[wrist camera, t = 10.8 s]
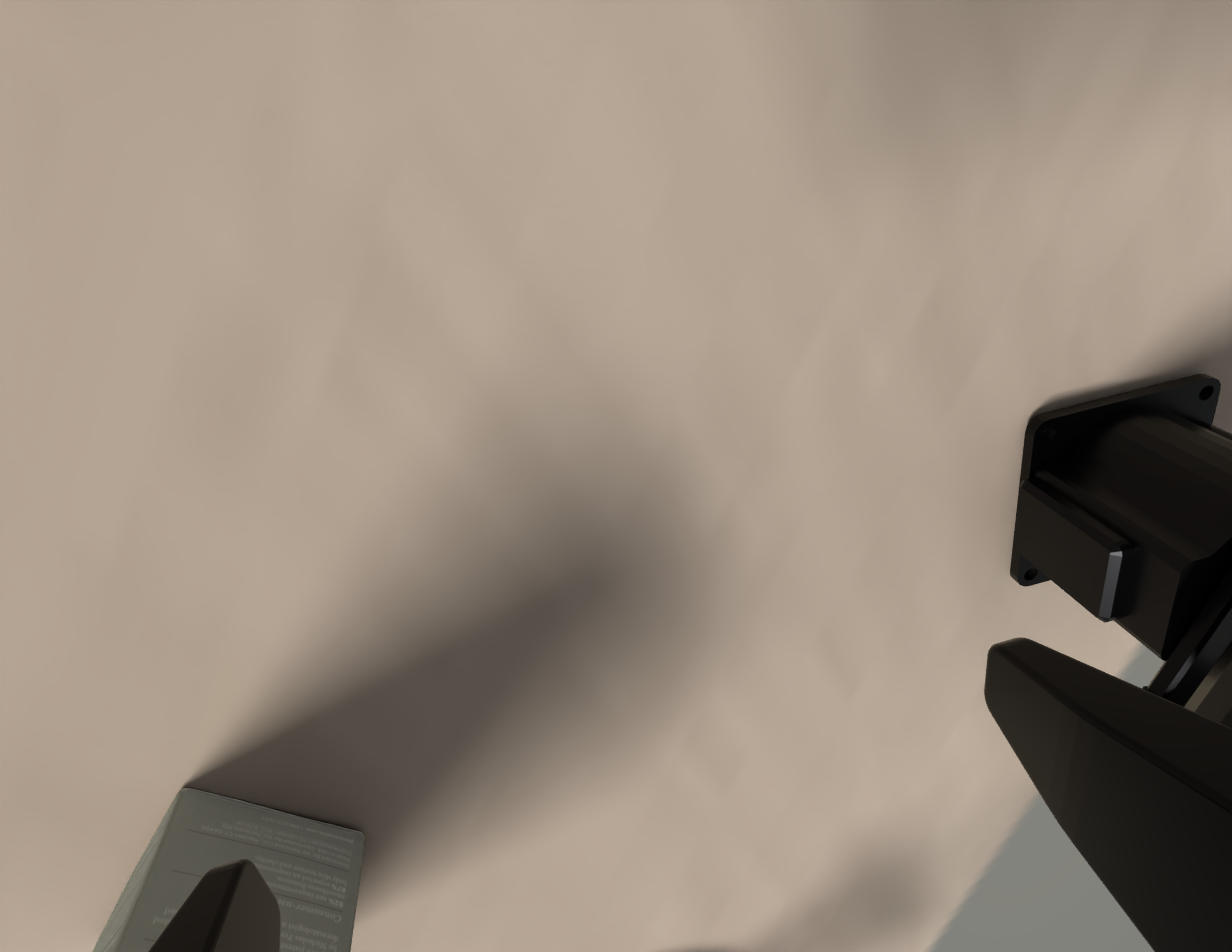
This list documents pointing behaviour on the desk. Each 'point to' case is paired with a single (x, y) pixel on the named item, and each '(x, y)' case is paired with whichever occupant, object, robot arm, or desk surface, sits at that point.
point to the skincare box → (232, 830)
